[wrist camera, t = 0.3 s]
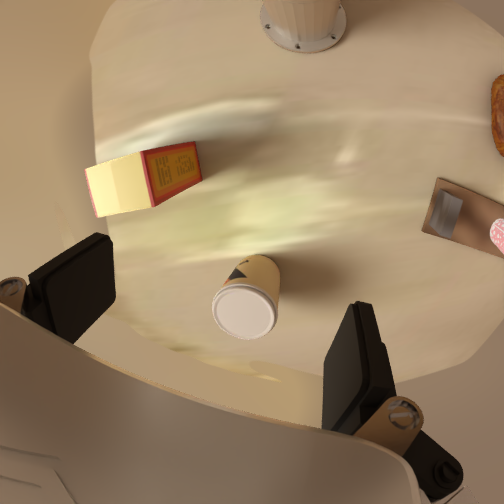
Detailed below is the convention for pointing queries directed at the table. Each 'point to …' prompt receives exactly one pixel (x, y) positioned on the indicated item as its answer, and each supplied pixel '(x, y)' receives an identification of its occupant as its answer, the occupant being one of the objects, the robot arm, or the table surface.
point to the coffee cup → (249, 299)
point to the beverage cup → (498, 234)
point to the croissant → (498, 113)
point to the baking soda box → (143, 178)
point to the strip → (462, 217)
